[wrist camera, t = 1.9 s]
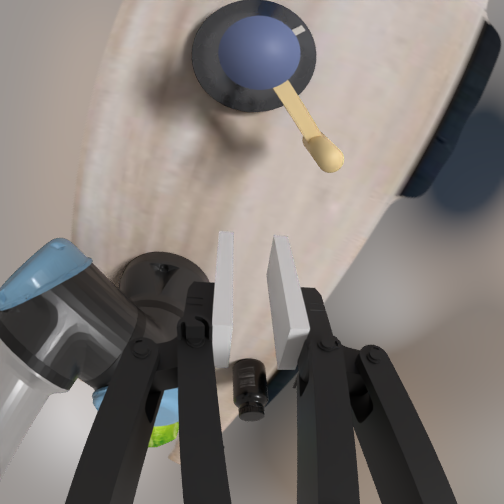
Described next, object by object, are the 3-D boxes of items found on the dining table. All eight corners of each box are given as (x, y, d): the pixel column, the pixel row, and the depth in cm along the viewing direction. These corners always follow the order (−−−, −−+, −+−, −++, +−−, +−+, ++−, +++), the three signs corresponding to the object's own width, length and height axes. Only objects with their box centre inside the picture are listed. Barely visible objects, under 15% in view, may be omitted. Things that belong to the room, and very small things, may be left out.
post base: (237, 131, 37) (237, 143, 32) (170, 44, 30) (158, 41, 25) (334, 74, 33) (350, 78, 28) (271, -18, 26) (277, -30, 21)
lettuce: (184, 382, 67) (180, 428, 57) (179, 417, 78) (176, 455, 68) (125, 372, 64) (115, 416, 55) (130, 408, 75) (124, 445, 65)
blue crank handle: (206, 45, 26) (198, 41, 20) (267, 9, 24) (275, -4, 18) (291, 164, 33) (303, 190, 28) (345, 133, 31) (369, 152, 26)
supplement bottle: (228, 372, 64) (228, 421, 55) (239, 355, 61) (240, 406, 51) (257, 377, 66) (261, 425, 56) (270, 361, 63) (275, 411, 53)
